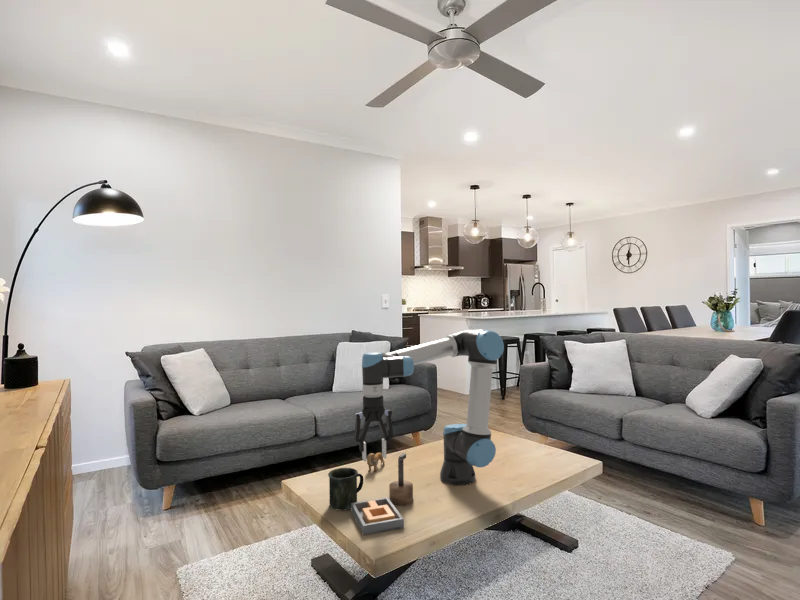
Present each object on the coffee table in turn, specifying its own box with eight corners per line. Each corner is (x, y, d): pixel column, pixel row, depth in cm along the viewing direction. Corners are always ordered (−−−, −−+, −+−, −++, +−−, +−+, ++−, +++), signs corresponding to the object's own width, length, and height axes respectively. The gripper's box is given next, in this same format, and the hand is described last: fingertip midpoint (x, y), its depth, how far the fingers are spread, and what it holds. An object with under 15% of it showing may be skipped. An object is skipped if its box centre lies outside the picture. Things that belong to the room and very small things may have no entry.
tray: (387, 505, 164) (387, 497, 164) (403, 527, 147) (403, 518, 147) (351, 511, 160) (351, 503, 160) (363, 535, 143) (363, 525, 143)
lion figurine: (375, 475, 194) (375, 455, 194) (364, 474, 195) (364, 454, 196) (386, 464, 208) (386, 445, 208) (375, 463, 209) (375, 444, 210)
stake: (395, 494, 174) (395, 449, 174) (416, 498, 170) (416, 452, 171) (385, 503, 166) (384, 456, 166) (406, 507, 162) (406, 460, 162)
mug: (322, 504, 166) (322, 472, 166) (354, 493, 175) (354, 463, 175) (338, 514, 157) (338, 480, 158) (371, 502, 167) (370, 470, 167)
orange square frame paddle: (359, 510, 159) (359, 502, 159) (382, 507, 162) (382, 498, 162) (369, 529, 145) (369, 519, 145) (394, 524, 148) (394, 515, 148)
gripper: (348, 399, 153) (350, 466, 153) (402, 394, 160) (403, 458, 160) (344, 395, 160) (345, 459, 160) (395, 391, 167) (396, 452, 167)
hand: (374, 458), depth 160 cm, fingers open, 7 cm apart
